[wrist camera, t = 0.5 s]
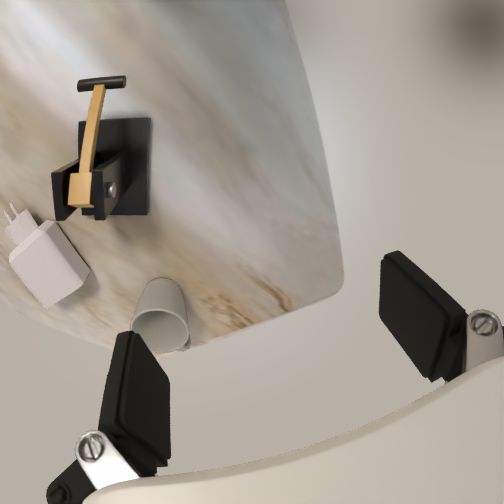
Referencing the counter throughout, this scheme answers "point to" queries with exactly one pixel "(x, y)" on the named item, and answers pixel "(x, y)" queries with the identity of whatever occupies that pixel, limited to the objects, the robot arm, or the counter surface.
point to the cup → (162, 317)
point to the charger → (44, 258)
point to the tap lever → (90, 139)
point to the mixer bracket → (111, 171)
